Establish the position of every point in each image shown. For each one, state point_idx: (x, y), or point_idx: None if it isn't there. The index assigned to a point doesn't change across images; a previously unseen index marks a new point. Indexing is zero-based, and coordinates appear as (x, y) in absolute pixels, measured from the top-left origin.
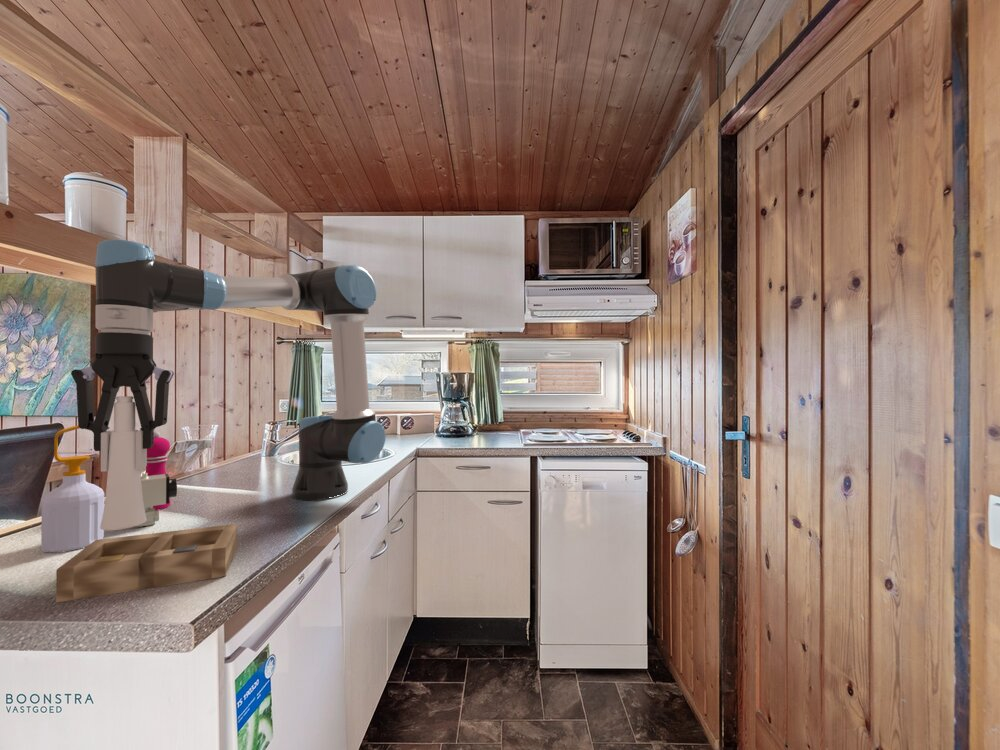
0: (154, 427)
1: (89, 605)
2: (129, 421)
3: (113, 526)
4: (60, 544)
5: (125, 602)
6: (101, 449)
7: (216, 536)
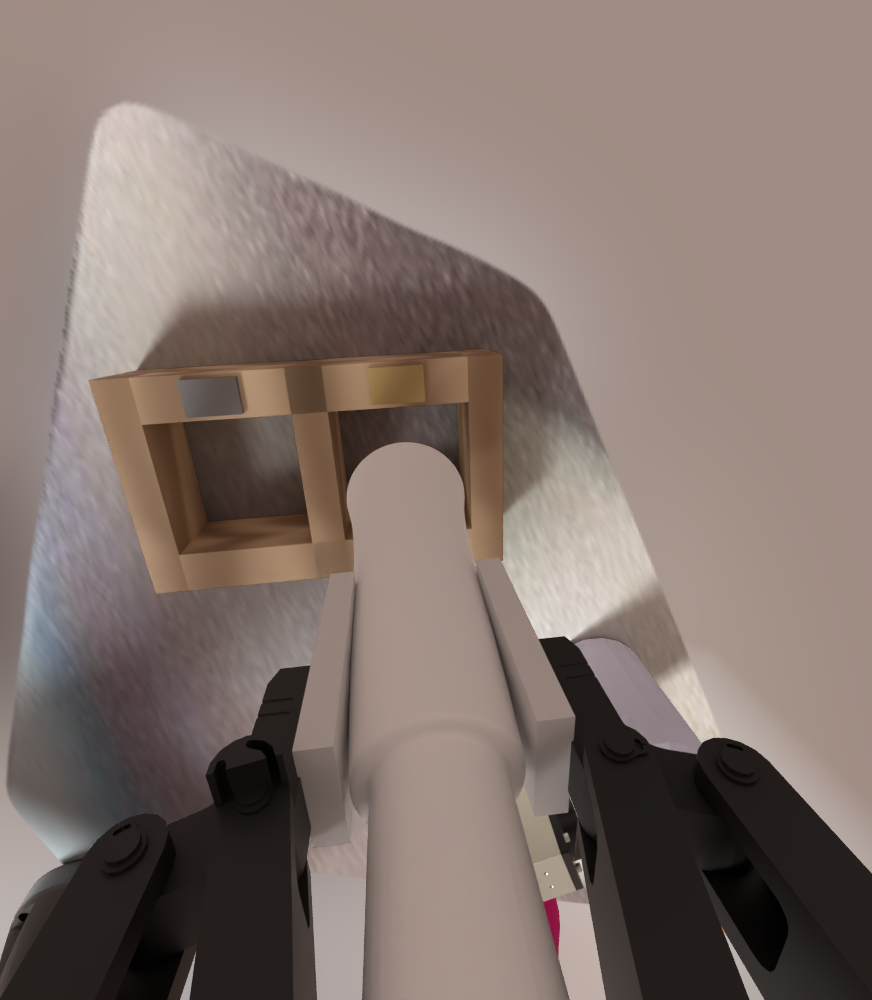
0: (196, 813)
1: (405, 304)
2: (387, 847)
3: (411, 445)
4: (603, 648)
5: (329, 290)
6: (528, 626)
7: (205, 543)
